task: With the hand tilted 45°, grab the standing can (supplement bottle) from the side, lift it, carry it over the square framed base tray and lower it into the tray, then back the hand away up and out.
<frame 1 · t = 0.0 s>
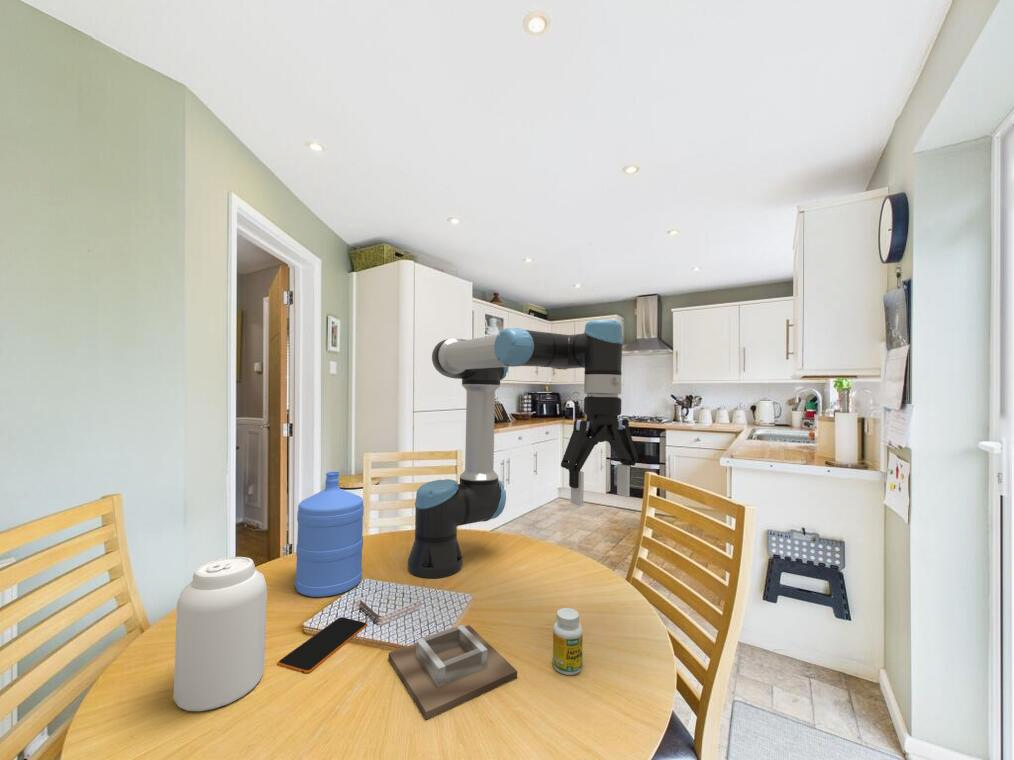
hand: (601, 499, 86), 28 cm above the table, tool pointing down, fingers open, 13 cm apart
square framed base tray: (450, 668, 75), on the table
smartphone: (325, 646, 82), on the table
supplement bottle: (567, 667, 76), on the table
water jug: (329, 584, 107), on the table
can: (220, 686, 70), on the table
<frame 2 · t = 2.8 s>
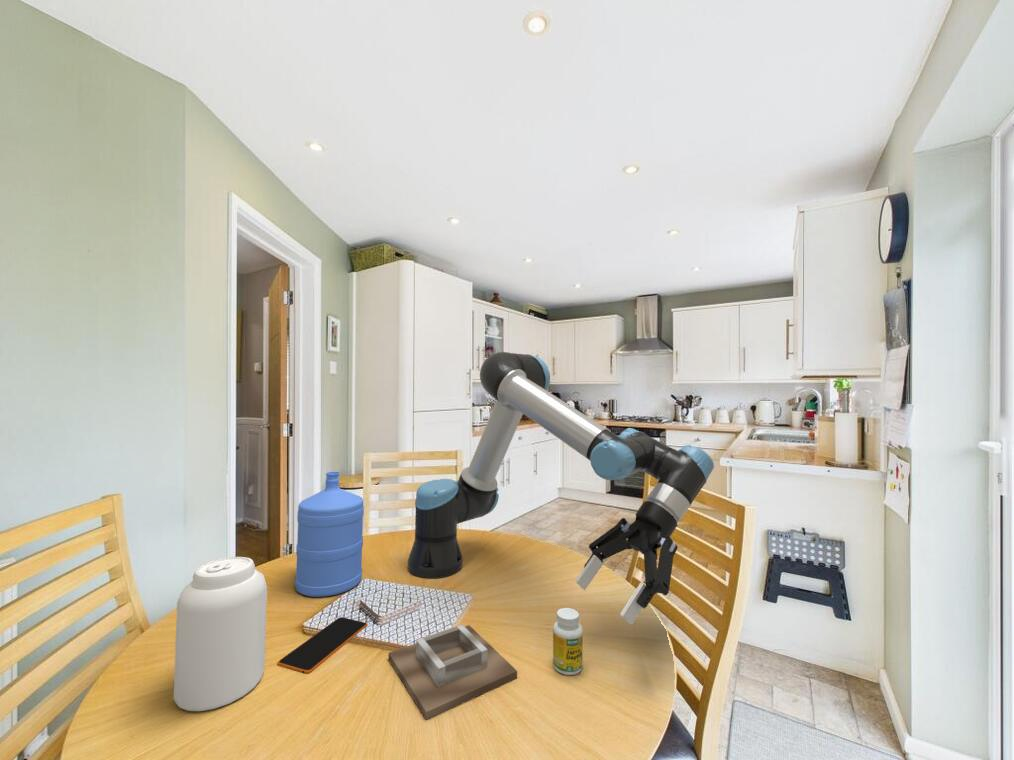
hand: (600, 601, 78), 11 cm above the table, tool tilted 45°, fingers open, 13 cm apart
nothing on the table moved.
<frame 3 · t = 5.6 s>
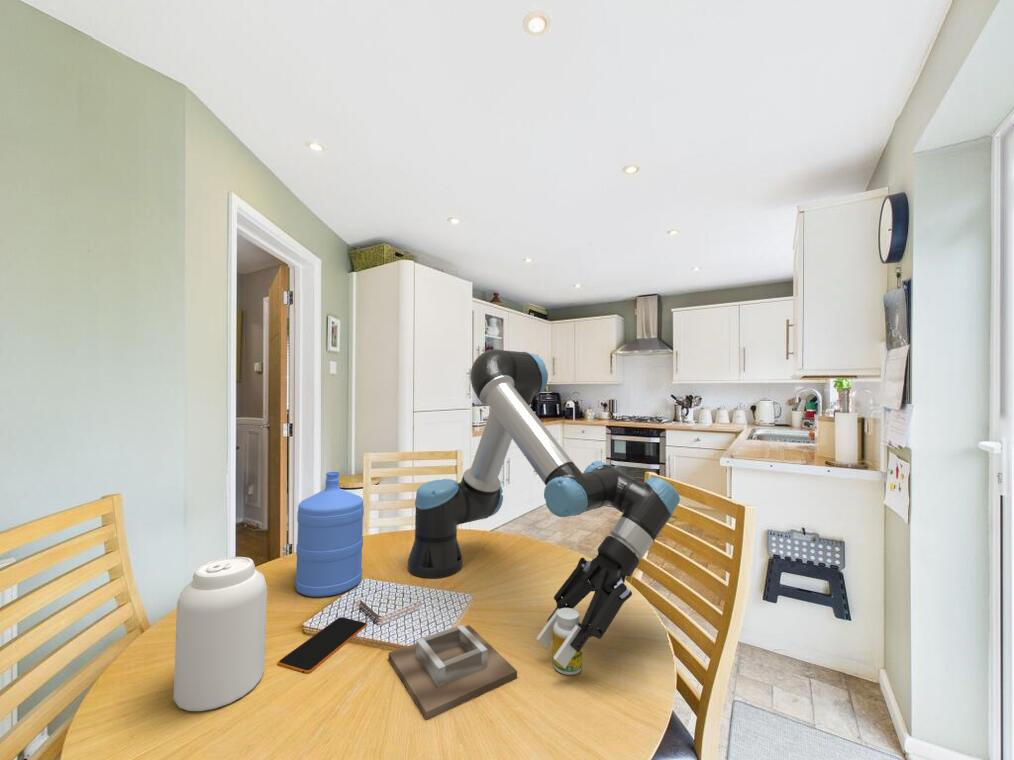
hand: (550, 652, 75), 3 cm above the table, tool tilted 45°, fingers closed on supplement bottle, 5 cm apart
supplement bottle: (567, 667, 76), on the table, touching gripper
everything else where it was.
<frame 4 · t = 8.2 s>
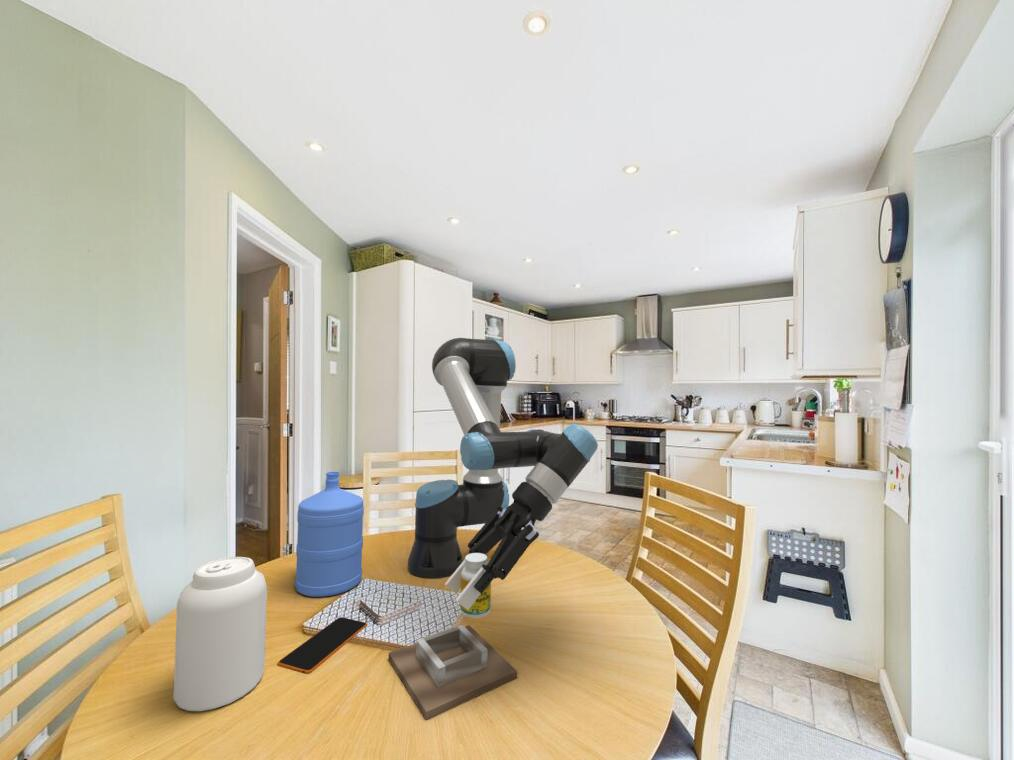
hand: (456, 596, 73), 14 cm above the table, tool tilted 45°, fingers closed on supplement bottle, 5 cm apart
supplement bottle: (475, 612, 75), point 10 cm above the table, touching gripper
everything else where it was.
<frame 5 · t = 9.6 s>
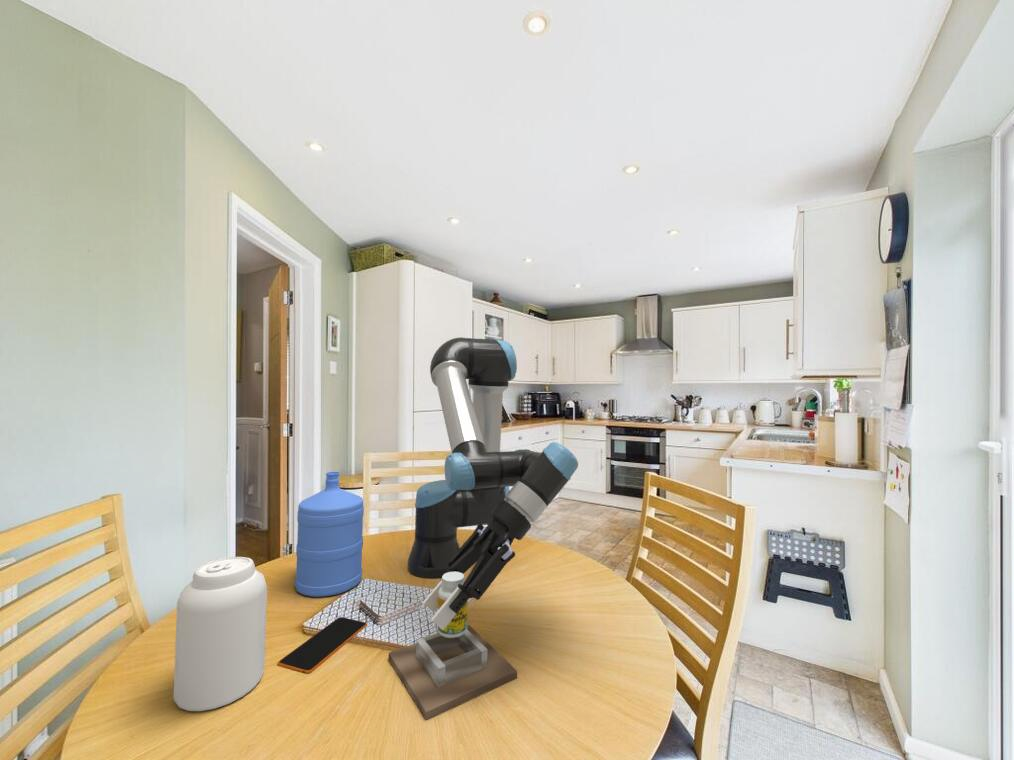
hand: (432, 615, 74), 10 cm above the table, tool tilted 45°, fingers closed on supplement bottle, 5 cm apart
supplement bottle: (452, 631, 75), point 7 cm above the table, touching gripper
everything else where it was.
when the fingers open (6 cm above the table, at t = 10.8 s): supplement bottle drops 1 cm, resting on square framed base tray.
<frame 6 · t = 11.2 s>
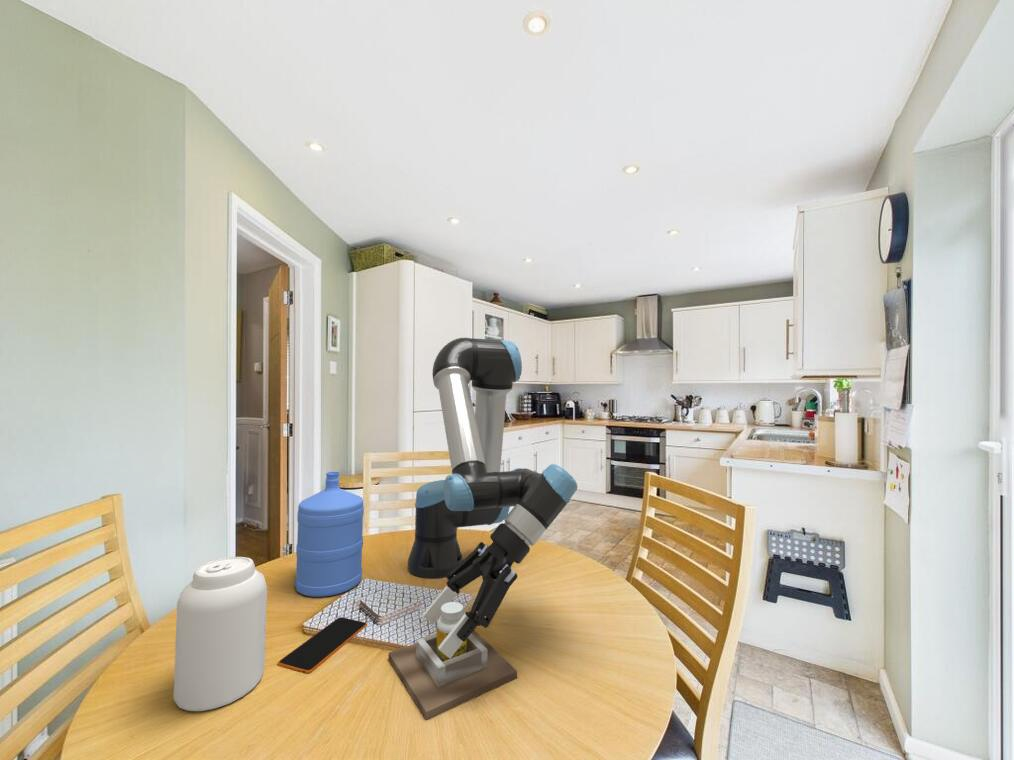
hand: (435, 635, 74), 7 cm above the table, tool tilted 45°, fingers open, 10 cm apart
supplement bottle: (451, 662, 75), point 1 cm above the table, touching square framed base tray
everything else where it was.
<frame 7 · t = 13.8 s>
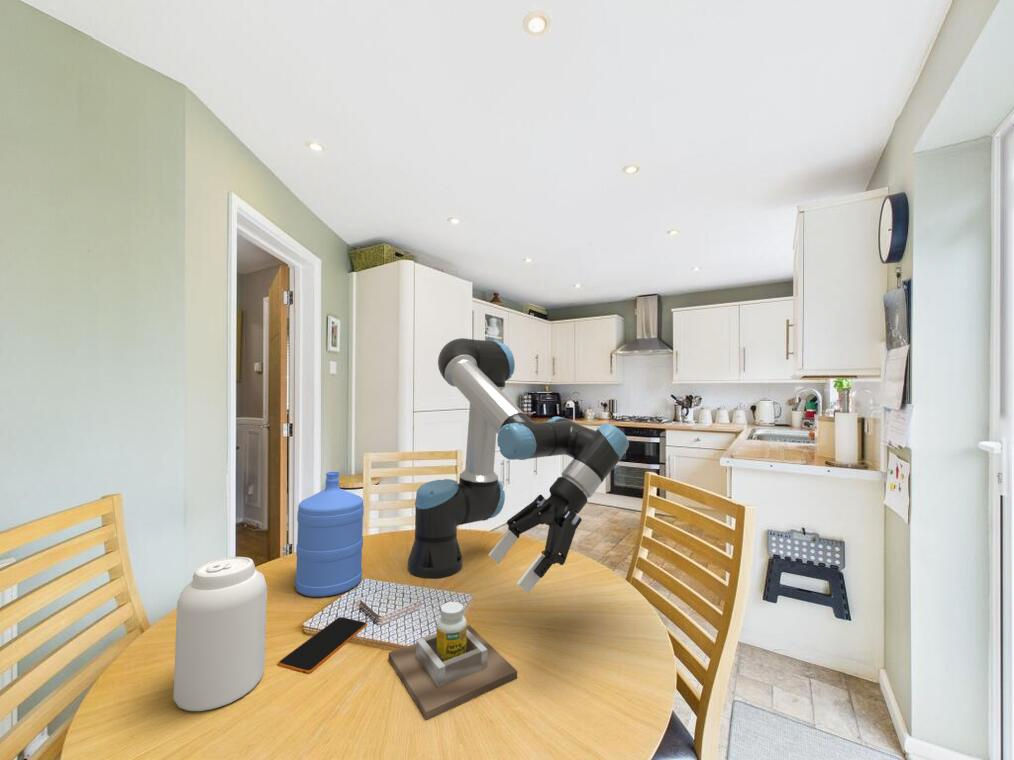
hand: (506, 573, 80), 15 cm above the table, tool tilted 45°, fingers open, 13 cm apart
nothing on the table moved.
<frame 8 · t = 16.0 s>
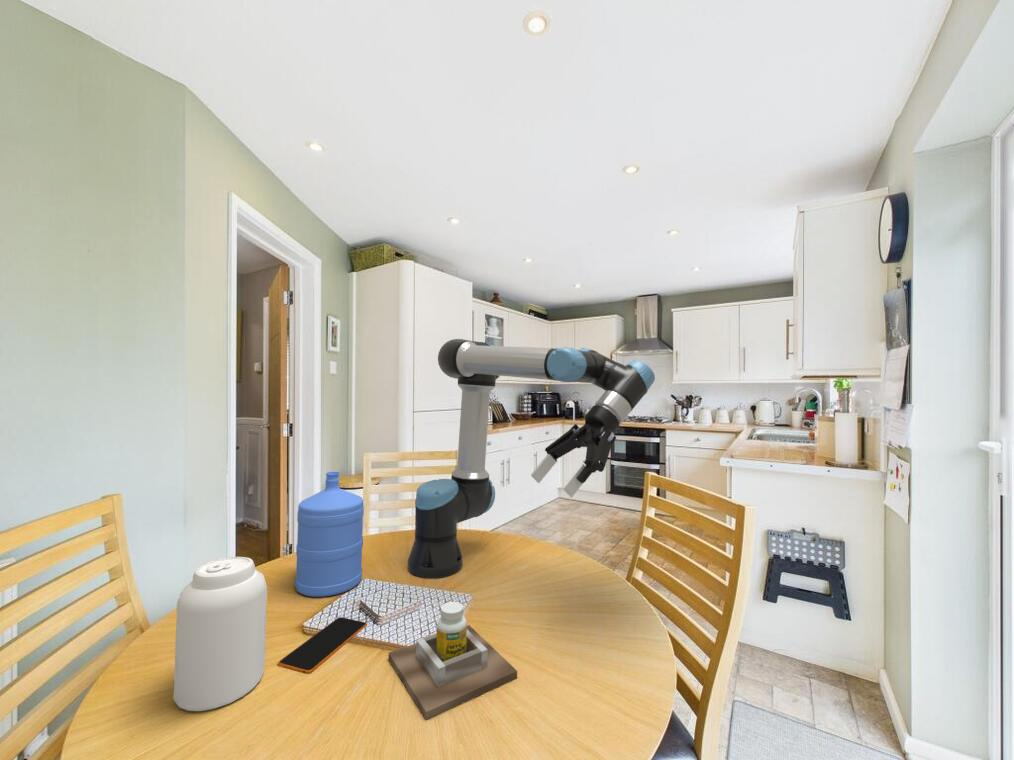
hand: (549, 485, 90), 30 cm above the table, tool tilted 45°, fingers open, 13 cm apart
nothing on the table moved.
at the end: supplement bottle 0.1 cm from the square framed base tray (horizontally); supplement bottle point 1.0 cm above the table; supplement bottle tilted 0° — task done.
